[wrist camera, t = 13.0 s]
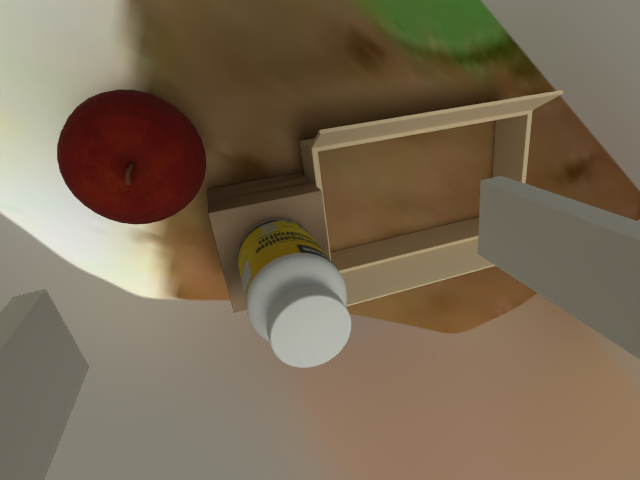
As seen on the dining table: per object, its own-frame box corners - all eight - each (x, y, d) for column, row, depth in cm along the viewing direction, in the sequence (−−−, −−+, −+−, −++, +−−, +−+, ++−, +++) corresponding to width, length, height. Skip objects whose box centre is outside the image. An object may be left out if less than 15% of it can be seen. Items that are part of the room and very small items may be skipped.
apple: (70, 95, 30) (13, 95, 21) (194, 86, 32) (190, 82, 23) (105, 208, 33) (69, 249, 24) (214, 193, 36) (218, 225, 27)
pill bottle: (326, 232, 32) (387, 300, 21) (293, 297, 33) (335, 390, 22) (256, 203, 29) (286, 263, 19) (223, 274, 30) (233, 368, 20)
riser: (207, 189, 35) (208, 213, 28) (298, 172, 37) (321, 190, 30) (228, 272, 39) (233, 312, 32) (310, 253, 41) (333, 286, 34)
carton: (296, 123, 36) (319, 130, 29) (501, 91, 40) (563, 90, 33) (318, 273, 42) (341, 308, 35) (492, 229, 47) (543, 253, 40)
